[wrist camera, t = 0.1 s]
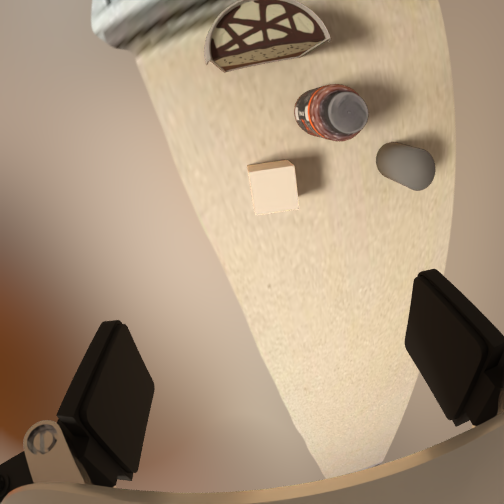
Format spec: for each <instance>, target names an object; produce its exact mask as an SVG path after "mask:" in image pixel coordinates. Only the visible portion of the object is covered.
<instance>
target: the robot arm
mask: <svg viewBox="0 0 504 504" xmlns="http://www.w3.org/2000/svg"><path fill="white" fill-rule="evenodd" d="M405 347H406V350H407V351H408V353H409V355H410V356H411V358H412V360H413V361H414V363H415V364H416V366H417V368H418V369H419V371H420V372H421V374H422V376H423V377H424V379H425V381H426V383H427V384H428V386H429V387H430V389H431V391H432V393H433V394H434V396H435V398H436V400H437V401H438V403H439V405H440V407H441V408H442V410H443V412H444V414H445V415H446V417H447V418H448V419H449V420H453V422H454V424H455V426H459V425H461V424H463V423H465V422H467V421H469V420H470V421H471V423H472V424H473V425H472V429H470V430H468V431H466V432H464V433H462V434H459V435H457V436H455V437H453V438H451V439H448V440H446V441H444V442H441V443H439V444H437V445H434V446H432V447H430V448H427V449H425V450H422V451H419V452H417V453H414V454H412V455H409V456H406V457H403V458H400V459H398V460H394V461H392V462H388V463H385V464H382V465H379V466H375V467H372V468H368V469H365V470H361V471H358V472H354V473H350V474H346V475H342V476H338V477H333V478H329V479H324V480H319V481H314V482H309V483H303V484H297V485H291V486H284V487H277V488H270V489H260V490H249V491H236V492H217V493H173V492H154V491H140V490H128V489H119V488H117V487H116V482H117V479H120V480H128V481H132V477H133V473H136V472H137V470H138V467H139V461H140V456H141V451H142V446H143V441H144V436H145V431H146V426H147V422H148V417H149V412H150V408H151V403H152V398H153V394H154V382H153V381H152V378H151V376H150V374H149V372H148V370H147V368H146V366H145V364H144V362H143V360H142V358H141V355H140V354H139V351H138V349H137V347H136V345H135V343H134V340H133V338H132V336H131V334H130V332H129V329H128V327H127V326H126V325H125V324H122V322H120V321H119V320H115V321H105V322H102V324H101V325H100V327H99V329H98V331H97V332H96V334H95V336H94V338H93V340H92V342H91V344H90V346H89V348H88V350H87V352H86V354H85V356H84V358H83V360H82V362H81V364H80V366H79V368H78V370H77V372H76V374H75V376H74V378H73V380H72V382H71V384H70V386H69V388H68V391H67V393H66V395H65V397H64V399H63V401H62V404H61V406H60V408H59V410H58V413H57V417H58V418H59V419H58V422H57V423H55V422H53V421H50V420H45V421H41V422H38V423H36V424H34V425H33V426H32V427H31V428H30V429H29V430H28V431H27V433H26V435H25V437H24V441H23V447H24V451H23V452H21V453H20V454H18V455H16V456H15V457H13V458H11V459H9V460H8V461H6V462H4V463H3V464H1V465H0V504H504V336H503V335H502V334H501V332H500V331H499V330H498V329H497V328H496V327H495V326H494V325H493V324H492V323H491V322H490V321H489V320H488V319H487V318H486V317H485V316H484V315H483V314H482V313H481V312H480V311H479V310H478V309H477V308H476V307H475V306H474V305H473V304H472V303H471V302H470V301H469V300H468V299H467V298H466V297H465V296H464V295H463V294H462V293H461V292H460V291H459V290H458V289H457V288H456V287H455V286H454V285H453V284H452V283H451V282H450V281H448V280H447V279H446V278H445V277H444V276H443V275H442V274H441V273H440V272H439V271H438V270H436V269H431V270H426V271H422V272H420V273H419V274H418V276H417V277H416V278H415V279H414V283H413V291H412V299H411V306H410V312H409V319H408V325H407V331H406V336H405Z"/></svg>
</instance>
